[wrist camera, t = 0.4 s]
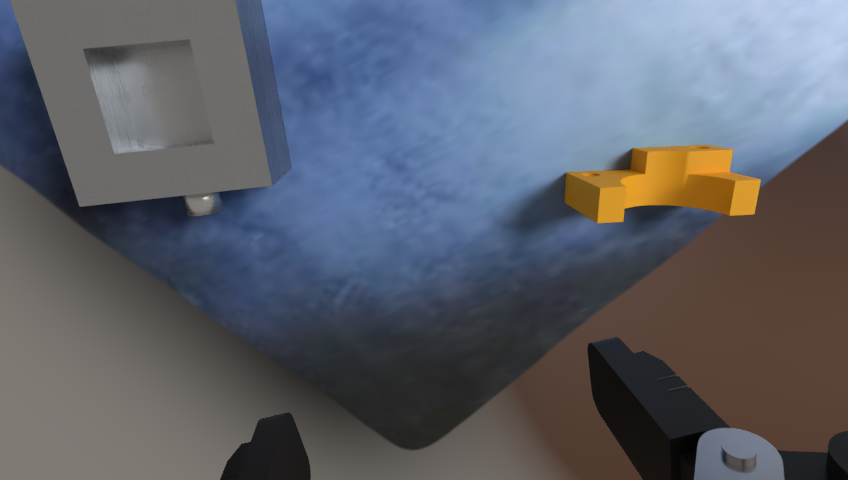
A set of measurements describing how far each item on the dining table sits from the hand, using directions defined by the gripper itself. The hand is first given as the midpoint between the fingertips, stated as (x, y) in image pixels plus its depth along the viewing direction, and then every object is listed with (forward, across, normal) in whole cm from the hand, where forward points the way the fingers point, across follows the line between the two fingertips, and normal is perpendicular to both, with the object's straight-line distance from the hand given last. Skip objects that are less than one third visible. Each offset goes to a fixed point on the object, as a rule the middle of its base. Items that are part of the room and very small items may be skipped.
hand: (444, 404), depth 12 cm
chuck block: (+27, +13, -10) cm, 32 cm away
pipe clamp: (+28, -20, +3) cm, 34 cm away
